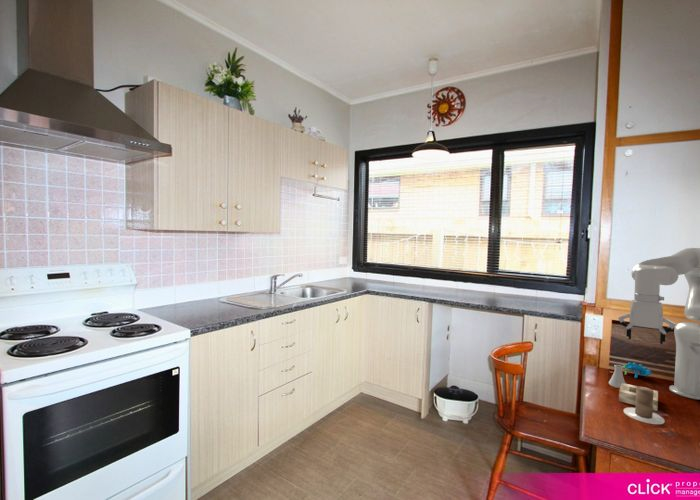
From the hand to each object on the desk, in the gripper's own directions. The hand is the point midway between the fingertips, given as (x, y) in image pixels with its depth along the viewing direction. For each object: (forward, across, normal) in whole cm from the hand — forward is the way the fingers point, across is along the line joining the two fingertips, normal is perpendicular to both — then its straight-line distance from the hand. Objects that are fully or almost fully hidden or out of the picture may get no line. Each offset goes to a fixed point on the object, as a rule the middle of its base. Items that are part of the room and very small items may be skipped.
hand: (645, 340), depth 139 cm
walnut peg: (+26, 0, +10) cm, 28 cm away
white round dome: (+27, 0, +10) cm, 29 cm away
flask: (+28, +9, -18) cm, 35 cm away
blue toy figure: (+29, +3, -42) cm, 51 cm away
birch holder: (+28, +2, -5) cm, 28 cm away
